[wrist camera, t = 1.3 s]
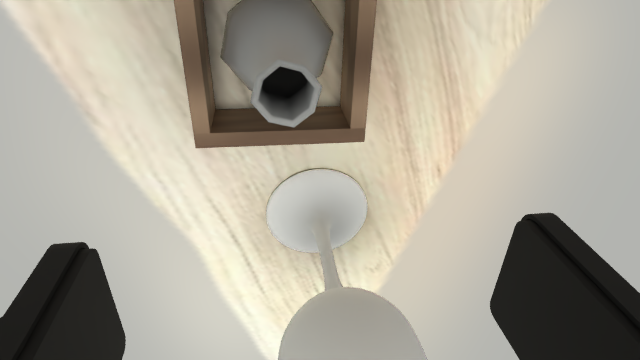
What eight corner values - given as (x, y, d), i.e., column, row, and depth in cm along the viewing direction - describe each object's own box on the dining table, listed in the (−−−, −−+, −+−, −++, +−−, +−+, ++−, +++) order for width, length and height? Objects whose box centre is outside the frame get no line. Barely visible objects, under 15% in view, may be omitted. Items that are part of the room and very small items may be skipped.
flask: (351, 27, 28) (393, 71, 19) (292, 113, 30) (307, 185, 22) (257, -42, 25) (258, -26, 16) (201, 60, 27) (177, 118, 19)
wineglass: (268, 254, 37) (279, 558, 19) (263, 170, 32) (273, 465, 14) (362, 247, 38) (457, 529, 20) (371, 165, 33) (502, 435, 16)
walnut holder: (179, -53, 24) (166, -50, 20) (364, -49, 25) (380, -45, 22) (202, 123, 30) (195, 148, 26) (352, 118, 31) (364, 141, 28)
